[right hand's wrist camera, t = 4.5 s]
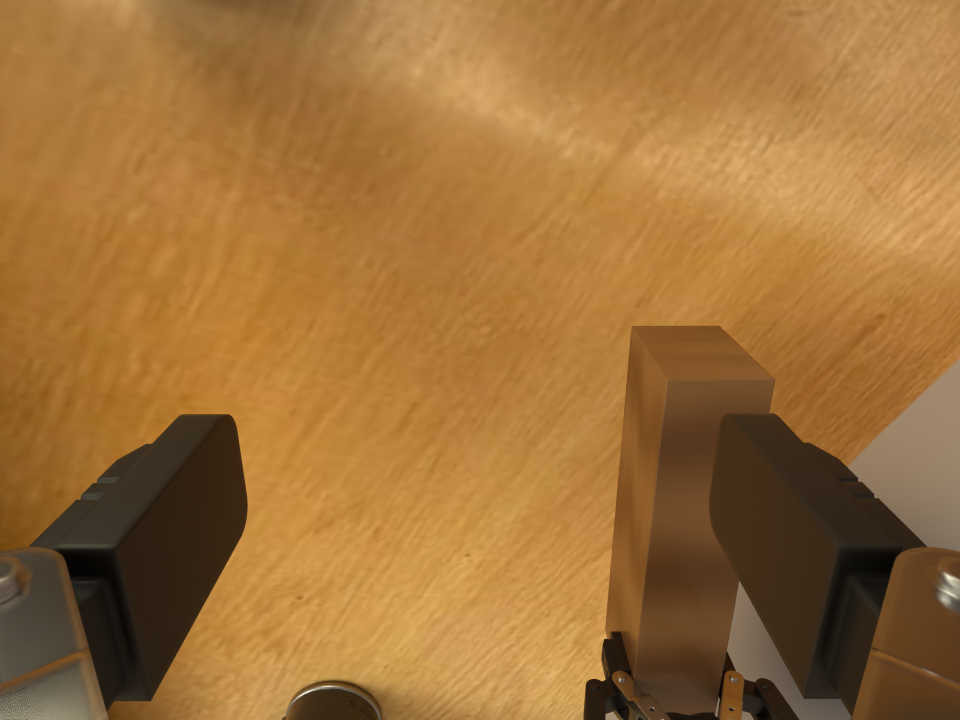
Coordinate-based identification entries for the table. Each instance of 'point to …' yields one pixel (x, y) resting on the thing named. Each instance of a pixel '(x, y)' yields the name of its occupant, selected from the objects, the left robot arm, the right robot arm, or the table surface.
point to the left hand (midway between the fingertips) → (658, 640)
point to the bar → (676, 510)
